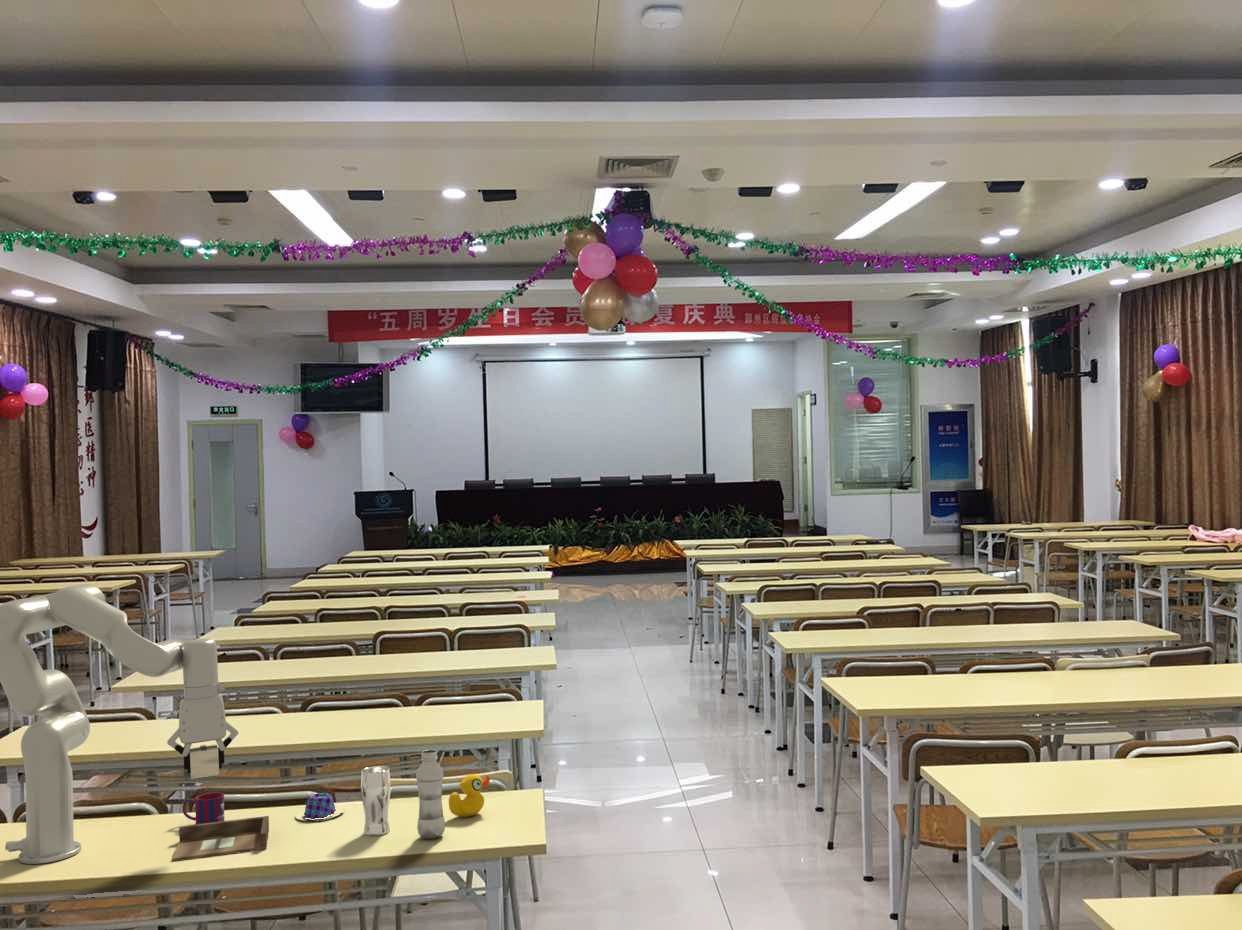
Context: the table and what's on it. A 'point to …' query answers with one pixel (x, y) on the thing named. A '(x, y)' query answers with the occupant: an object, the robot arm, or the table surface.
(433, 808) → the plastic bottle
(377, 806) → the beer glass
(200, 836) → the wooden tray
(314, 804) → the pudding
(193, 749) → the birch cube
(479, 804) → the duckling
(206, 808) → the mug
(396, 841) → the table surface
